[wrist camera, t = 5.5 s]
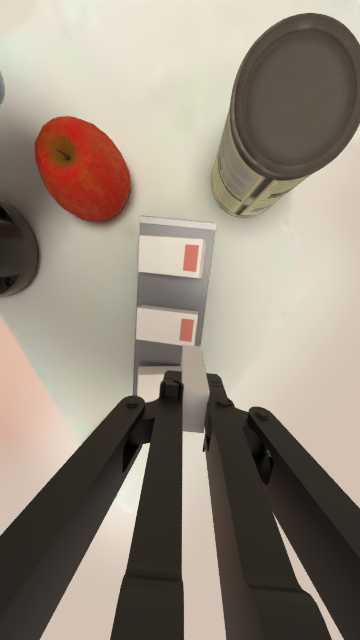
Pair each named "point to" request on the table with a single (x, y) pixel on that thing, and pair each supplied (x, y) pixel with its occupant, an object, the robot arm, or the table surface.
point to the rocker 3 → (151, 381)
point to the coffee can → (287, 111)
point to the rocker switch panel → (172, 290)
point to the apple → (82, 168)
